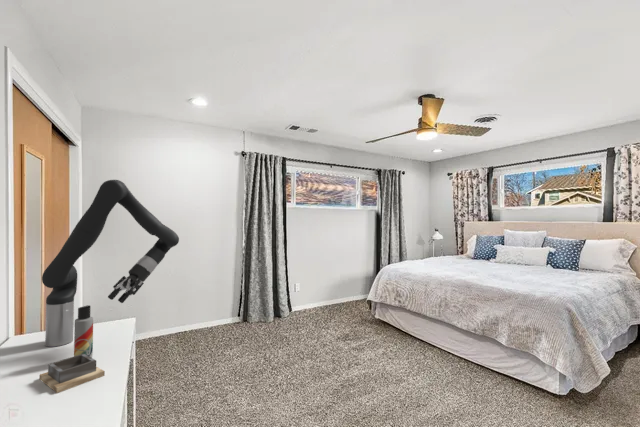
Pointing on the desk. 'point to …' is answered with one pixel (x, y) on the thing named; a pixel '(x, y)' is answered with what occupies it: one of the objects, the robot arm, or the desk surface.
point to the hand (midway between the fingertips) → (114, 300)
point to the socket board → (71, 372)
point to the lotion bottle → (83, 332)
